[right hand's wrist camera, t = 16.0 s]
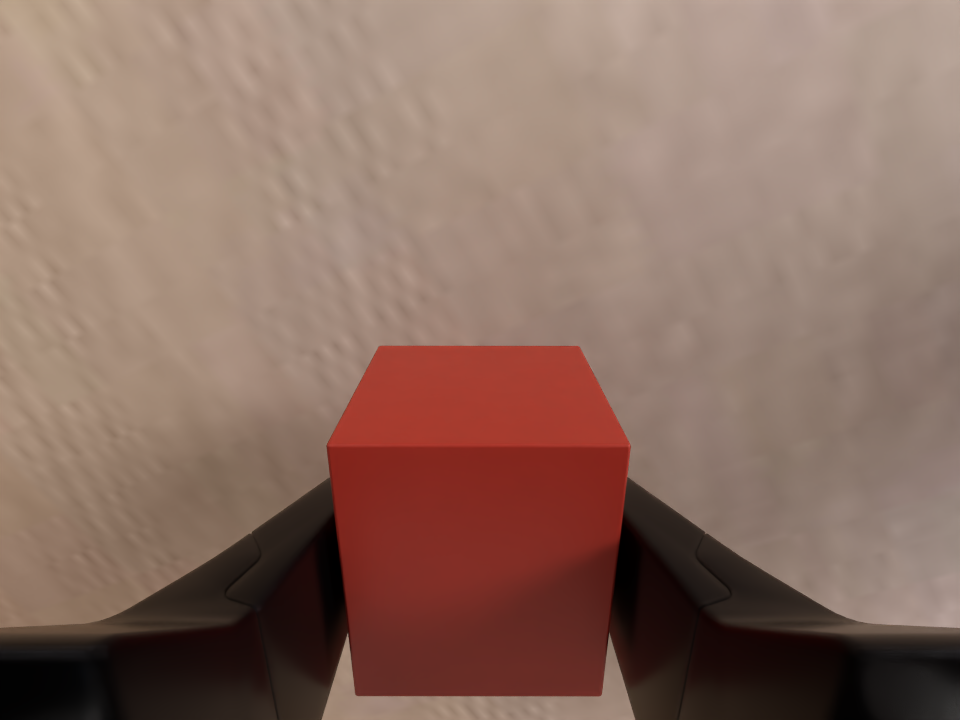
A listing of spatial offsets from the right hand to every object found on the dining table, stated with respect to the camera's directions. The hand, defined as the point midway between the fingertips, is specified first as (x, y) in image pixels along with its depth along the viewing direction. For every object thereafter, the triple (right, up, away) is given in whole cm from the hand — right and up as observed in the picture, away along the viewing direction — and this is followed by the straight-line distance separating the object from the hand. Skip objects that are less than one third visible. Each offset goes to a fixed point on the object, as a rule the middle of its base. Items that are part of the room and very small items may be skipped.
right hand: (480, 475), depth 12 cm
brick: (0, 0, +1) cm, 1 cm away
